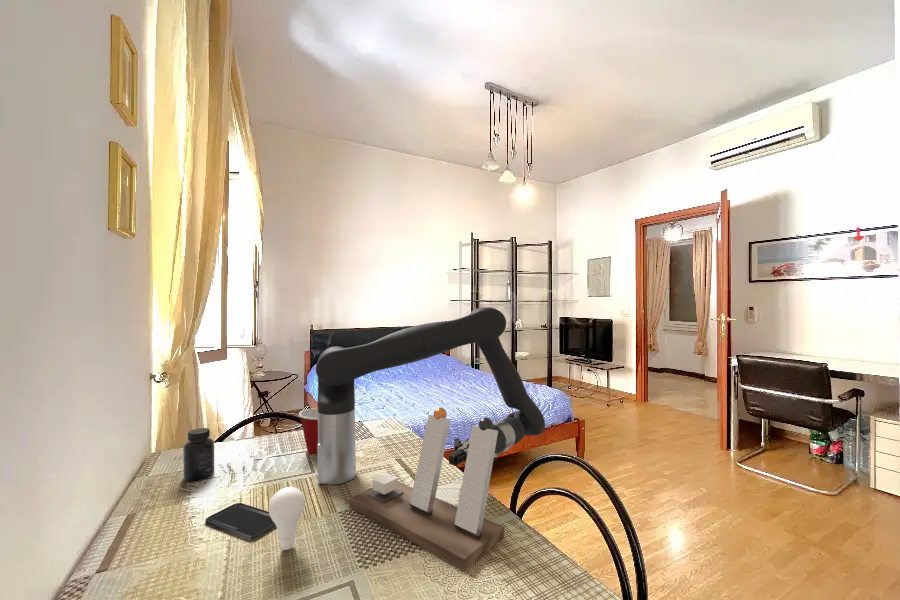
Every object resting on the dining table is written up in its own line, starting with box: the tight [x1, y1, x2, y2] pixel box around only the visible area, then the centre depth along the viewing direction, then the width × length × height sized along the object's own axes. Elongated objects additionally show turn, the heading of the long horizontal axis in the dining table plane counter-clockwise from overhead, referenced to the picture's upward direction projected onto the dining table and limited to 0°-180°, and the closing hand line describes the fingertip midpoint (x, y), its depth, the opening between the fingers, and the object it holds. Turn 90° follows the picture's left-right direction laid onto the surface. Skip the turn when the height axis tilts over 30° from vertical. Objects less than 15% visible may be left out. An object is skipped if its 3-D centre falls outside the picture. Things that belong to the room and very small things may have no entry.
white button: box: [371, 472, 399, 495], centre depth 86 cm, size 4×4×3 cm
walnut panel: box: [348, 481, 505, 572], centre depth 79 cm, size 12×32×2 cm, turn 50°
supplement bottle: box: [182, 427, 215, 483], centre depth 101 cm, size 7×7×12 cm
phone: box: [204, 502, 277, 542], centre depth 80 cm, size 8×1×15 cm
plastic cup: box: [298, 407, 318, 455], centre depth 118 cm, size 11×11×12 cm
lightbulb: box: [268, 486, 306, 551], centre depth 71 cm, size 6×6×11 cm
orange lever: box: [409, 407, 451, 515], centre depth 82 cm, size 3×6×21 cm, turn 49°
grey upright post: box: [454, 416, 498, 538], centre depth 74 cm, size 3×6×21 cm, turn 50°
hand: (451, 460), depth 87 cm, fingers closed
